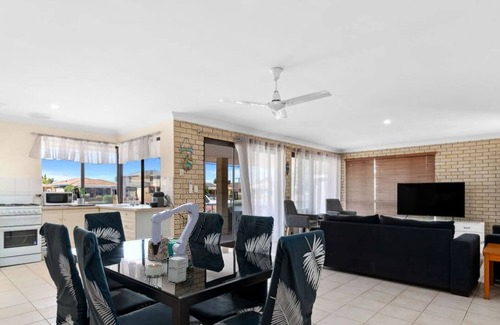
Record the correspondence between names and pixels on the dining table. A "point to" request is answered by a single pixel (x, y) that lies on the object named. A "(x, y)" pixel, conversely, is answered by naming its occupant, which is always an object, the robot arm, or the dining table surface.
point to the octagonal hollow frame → (154, 270)
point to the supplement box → (177, 269)
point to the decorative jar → (159, 250)
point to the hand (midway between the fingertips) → (155, 254)
